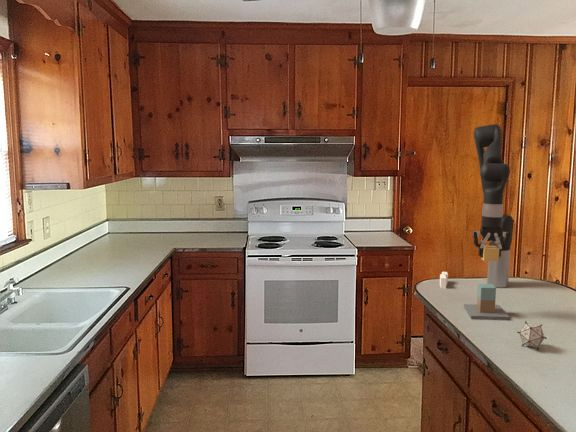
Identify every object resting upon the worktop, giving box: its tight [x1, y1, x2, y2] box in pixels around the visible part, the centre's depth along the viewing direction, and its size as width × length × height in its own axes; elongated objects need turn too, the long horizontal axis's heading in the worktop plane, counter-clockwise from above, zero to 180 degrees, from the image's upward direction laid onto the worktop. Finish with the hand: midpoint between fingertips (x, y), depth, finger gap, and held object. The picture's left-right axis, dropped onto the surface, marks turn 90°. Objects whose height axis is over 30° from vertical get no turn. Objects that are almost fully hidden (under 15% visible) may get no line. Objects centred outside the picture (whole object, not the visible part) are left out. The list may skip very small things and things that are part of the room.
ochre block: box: [480, 245, 499, 262], centre depth 207 cm, size 6×6×5 cm
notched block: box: [439, 271, 449, 290], centre depth 246 cm, size 15×11×6 cm
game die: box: [516, 320, 548, 351], centre depth 175 cm, size 9×8×10 cm
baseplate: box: [463, 296, 510, 321], centre depth 207 cm, size 14×14×6 cm
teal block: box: [476, 283, 497, 302], centre depth 207 cm, size 6×6×5 cm
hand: (489, 257), depth 207 cm, fingers closed on ochre block, 5 cm apart
